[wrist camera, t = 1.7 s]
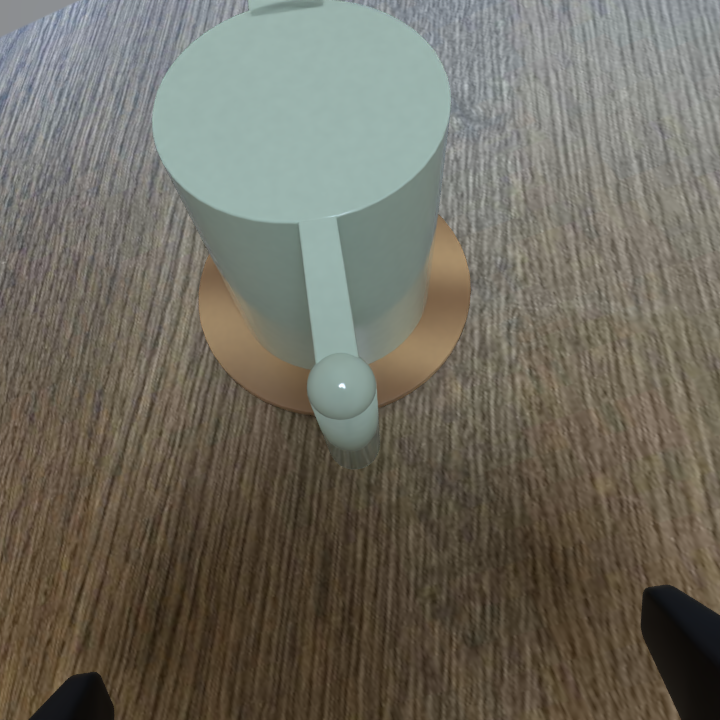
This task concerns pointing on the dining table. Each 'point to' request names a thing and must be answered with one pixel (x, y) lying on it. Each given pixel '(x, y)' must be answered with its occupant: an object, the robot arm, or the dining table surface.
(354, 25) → the jug
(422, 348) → the coaster
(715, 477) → the dining table surface
